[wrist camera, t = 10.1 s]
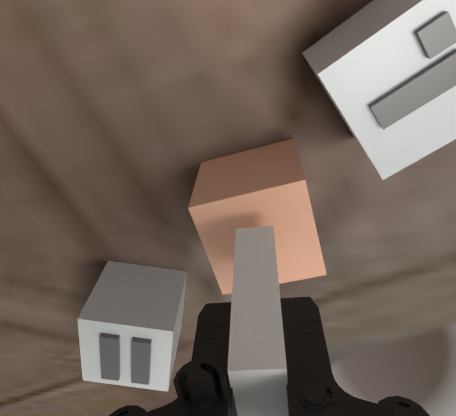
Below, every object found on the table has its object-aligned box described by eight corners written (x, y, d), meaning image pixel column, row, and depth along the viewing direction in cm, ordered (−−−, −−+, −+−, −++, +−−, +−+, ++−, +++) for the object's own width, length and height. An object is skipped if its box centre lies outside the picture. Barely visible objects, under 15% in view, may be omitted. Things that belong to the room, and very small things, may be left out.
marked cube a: (110, 316, 27) (80, 384, 22) (108, 259, 24) (75, 323, 20) (181, 326, 27) (167, 396, 22) (187, 270, 25) (172, 336, 20)
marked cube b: (354, 137, 20) (385, 183, 15) (301, 52, 18) (318, 76, 13) (451, 76, 18) (520, 107, 13) (405, -24, 16) (465, -28, 12)
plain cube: (228, 237, 23) (222, 294, 19) (201, 161, 21) (187, 208, 16) (311, 218, 22) (326, 274, 18) (293, 137, 20) (305, 179, 16)
